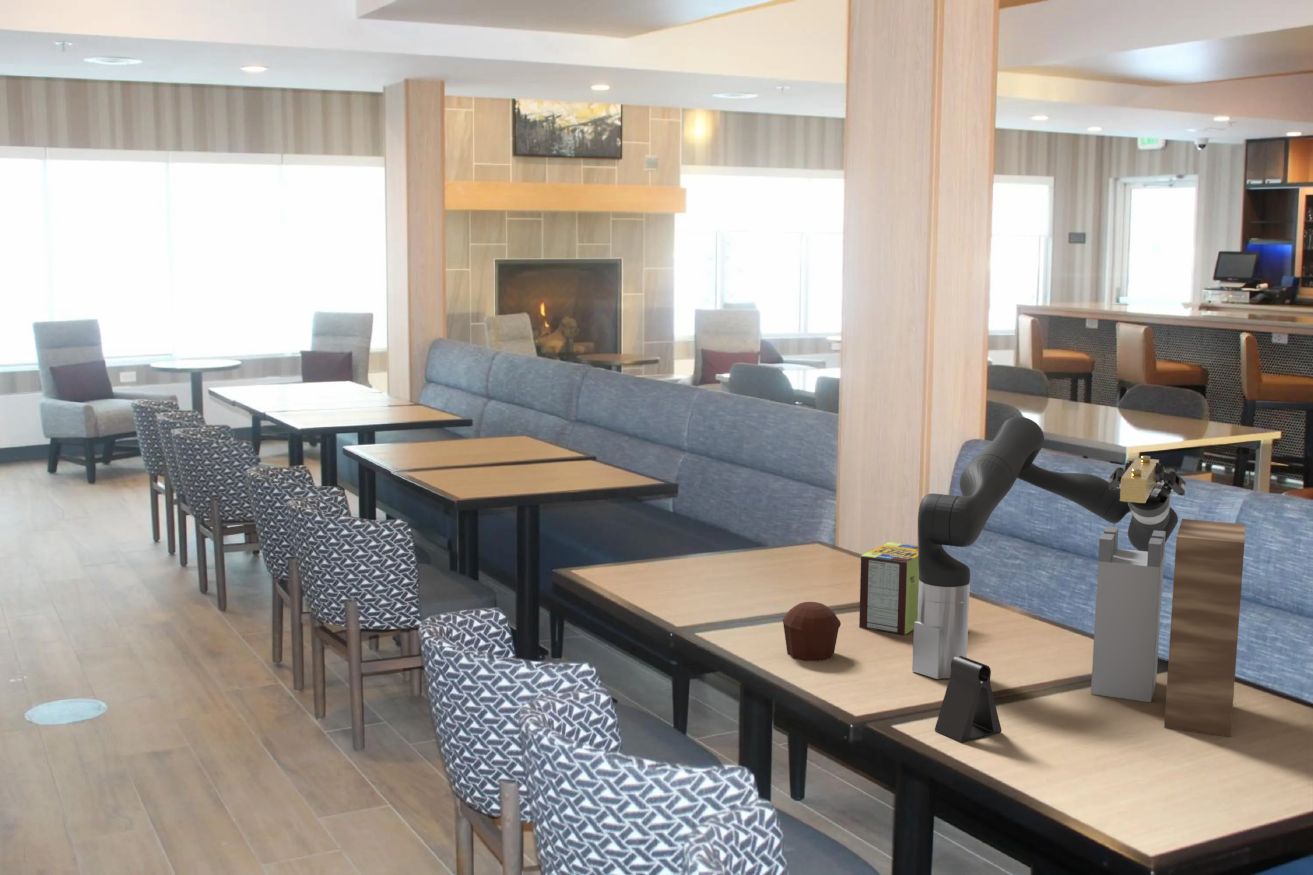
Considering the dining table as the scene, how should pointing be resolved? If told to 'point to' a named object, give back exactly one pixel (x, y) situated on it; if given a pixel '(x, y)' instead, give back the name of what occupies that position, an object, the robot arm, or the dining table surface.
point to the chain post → (1127, 618)
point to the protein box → (889, 588)
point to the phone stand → (968, 703)
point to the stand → (1204, 626)
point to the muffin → (811, 631)
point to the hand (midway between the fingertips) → (1144, 466)
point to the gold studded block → (1138, 480)
